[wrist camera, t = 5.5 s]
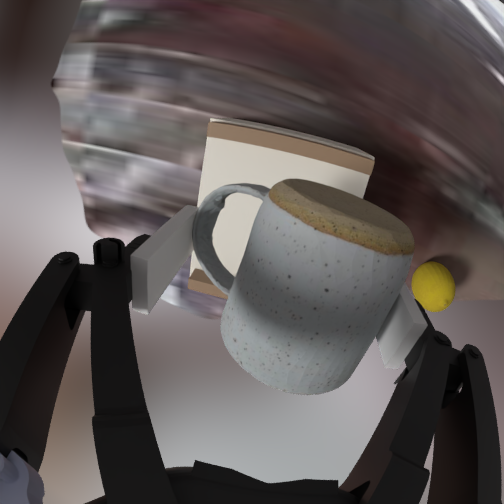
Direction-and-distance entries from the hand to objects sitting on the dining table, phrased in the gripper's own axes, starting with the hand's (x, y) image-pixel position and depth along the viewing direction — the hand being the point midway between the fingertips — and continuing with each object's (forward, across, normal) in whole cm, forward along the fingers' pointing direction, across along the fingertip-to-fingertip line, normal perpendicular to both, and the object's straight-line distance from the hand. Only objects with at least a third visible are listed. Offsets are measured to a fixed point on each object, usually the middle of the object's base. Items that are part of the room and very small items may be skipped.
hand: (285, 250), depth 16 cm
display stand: (+17, -1, -2) cm, 17 cm away
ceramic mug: (+1, 0, 0) cm, 1 cm away
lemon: (+17, +20, -6) cm, 27 cm away
